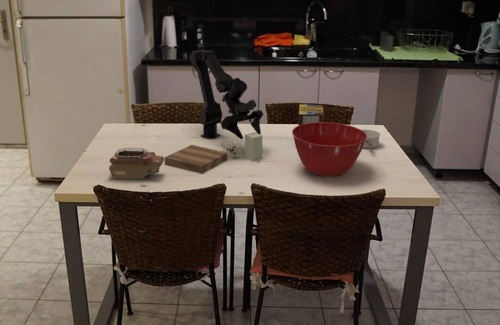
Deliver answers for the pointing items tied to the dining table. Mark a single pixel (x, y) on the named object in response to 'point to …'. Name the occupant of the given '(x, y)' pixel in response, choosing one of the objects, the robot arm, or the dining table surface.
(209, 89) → the robot arm
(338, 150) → the mixing bowl
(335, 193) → the dining table surface
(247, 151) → the sage block
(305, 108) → the protein box
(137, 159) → the decorative box
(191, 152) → the walnut base
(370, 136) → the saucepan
